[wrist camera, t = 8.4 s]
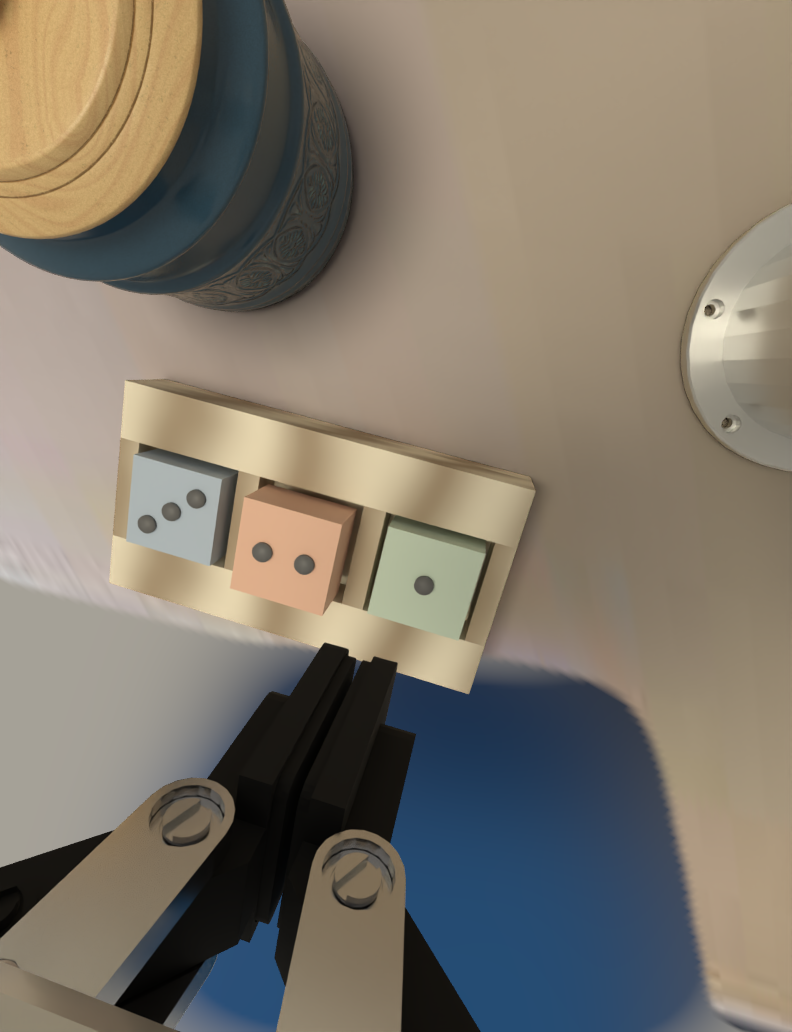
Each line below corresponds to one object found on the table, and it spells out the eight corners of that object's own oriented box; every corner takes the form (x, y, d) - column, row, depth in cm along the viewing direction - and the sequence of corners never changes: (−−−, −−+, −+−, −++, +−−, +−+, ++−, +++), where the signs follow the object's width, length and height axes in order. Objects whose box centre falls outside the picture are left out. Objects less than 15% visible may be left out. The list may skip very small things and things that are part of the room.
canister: (153, -5, 26) (-448, -676, 9) (396, 83, 25) (216, -475, 9) (106, 267, 30) (-374, 138, 13) (315, 349, 29) (85, 322, 13)
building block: (246, 469, 30) (219, 480, 27) (234, 548, 32) (207, 567, 29) (166, 446, 31) (131, 454, 28) (158, 525, 32) (123, 542, 29)
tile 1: (485, 535, 29) (485, 555, 26) (461, 615, 30) (458, 642, 27) (398, 511, 29) (387, 527, 26) (378, 590, 31) (366, 615, 28)
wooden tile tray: (530, 476, 29) (535, 490, 26) (470, 660, 33) (468, 694, 29) (164, 379, 31) (125, 380, 28) (146, 561, 35) (109, 582, 31)
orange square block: (357, 509, 28) (340, 525, 25) (338, 592, 29) (320, 617, 26) (268, 484, 28) (242, 497, 25) (254, 567, 30) (228, 589, 27)
